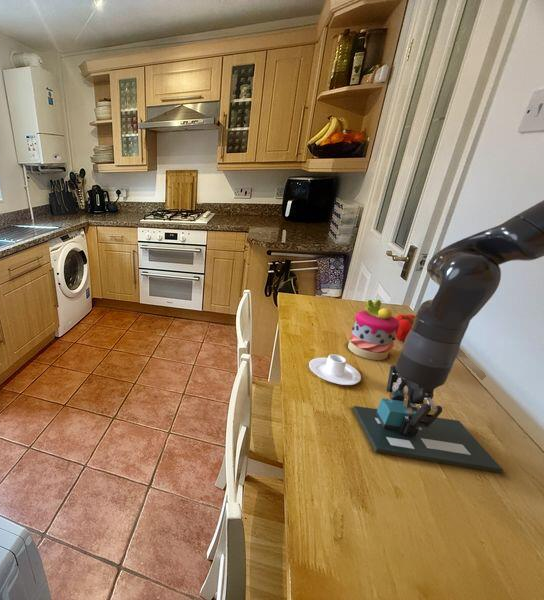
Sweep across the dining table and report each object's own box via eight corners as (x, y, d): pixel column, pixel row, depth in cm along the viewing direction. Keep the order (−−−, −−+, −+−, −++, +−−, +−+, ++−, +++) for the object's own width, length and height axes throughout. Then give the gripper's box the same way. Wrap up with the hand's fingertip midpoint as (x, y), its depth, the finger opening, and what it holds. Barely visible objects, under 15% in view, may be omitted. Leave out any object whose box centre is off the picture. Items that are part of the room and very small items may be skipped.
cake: (396, 355, 92) (414, 308, 86) (374, 364, 88) (391, 315, 82) (360, 338, 100) (374, 294, 95) (338, 346, 96) (351, 301, 90)
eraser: (407, 419, 67) (414, 402, 66) (417, 433, 64) (424, 416, 62) (375, 414, 69) (381, 398, 67) (383, 428, 65) (390, 411, 63)
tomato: (400, 330, 105) (407, 310, 102) (429, 343, 98) (438, 322, 95) (379, 334, 103) (386, 314, 100) (407, 348, 95) (416, 326, 92)
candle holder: (355, 393, 76) (360, 379, 75) (302, 374, 84) (306, 360, 82) (363, 371, 85) (368, 357, 83) (315, 354, 92) (318, 342, 90)
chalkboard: (456, 424, 68) (458, 420, 67) (500, 473, 57) (503, 469, 56) (352, 409, 72) (353, 405, 71) (375, 452, 61) (376, 448, 61)
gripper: (478, 381, 52) (440, 456, 59) (428, 338, 65) (401, 404, 72) (425, 374, 54) (394, 448, 61) (386, 334, 67) (364, 398, 73)
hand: (398, 424), depth 66 cm, fingers open, 4 cm apart
